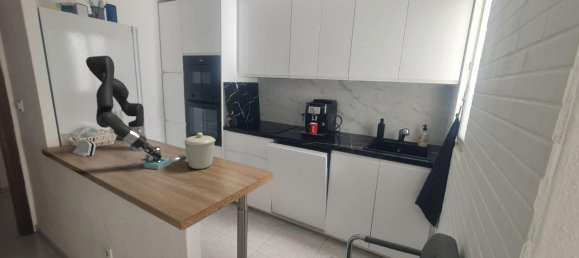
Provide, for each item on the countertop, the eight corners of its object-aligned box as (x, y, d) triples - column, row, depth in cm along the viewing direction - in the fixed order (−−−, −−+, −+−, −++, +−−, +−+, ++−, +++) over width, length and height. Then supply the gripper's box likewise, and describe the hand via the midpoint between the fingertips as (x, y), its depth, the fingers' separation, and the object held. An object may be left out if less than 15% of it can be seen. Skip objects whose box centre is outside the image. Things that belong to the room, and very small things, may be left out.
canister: (206, 173, 135) (205, 137, 130) (177, 169, 138) (175, 134, 134) (221, 162, 152) (220, 130, 148) (195, 159, 156) (194, 128, 151)
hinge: (72, 152, 158) (76, 138, 159) (81, 153, 163) (85, 139, 164) (84, 157, 151) (89, 142, 152) (93, 158, 155) (97, 143, 156)
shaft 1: (158, 162, 147) (157, 158, 147) (151, 164, 145) (150, 159, 144) (151, 157, 156) (151, 153, 155) (144, 159, 153) (144, 154, 152)
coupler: (156, 161, 145) (155, 146, 143) (163, 162, 144) (162, 146, 142) (150, 164, 141) (149, 148, 139) (157, 165, 140) (156, 148, 138)
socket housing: (156, 161, 149) (156, 157, 148) (170, 163, 147) (170, 159, 146) (143, 167, 139) (143, 162, 139) (158, 169, 137) (157, 164, 136)
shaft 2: (167, 164, 145) (166, 160, 144) (164, 162, 148) (164, 158, 147) (187, 160, 154) (186, 155, 153) (184, 158, 156) (184, 154, 156)
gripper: (139, 136, 129) (166, 155, 138) (139, 131, 141) (164, 148, 149) (129, 147, 127) (156, 165, 136) (130, 140, 139) (155, 157, 148)
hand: (160, 156), depth 143 cm, fingers closed on coupler, 4 cm apart
